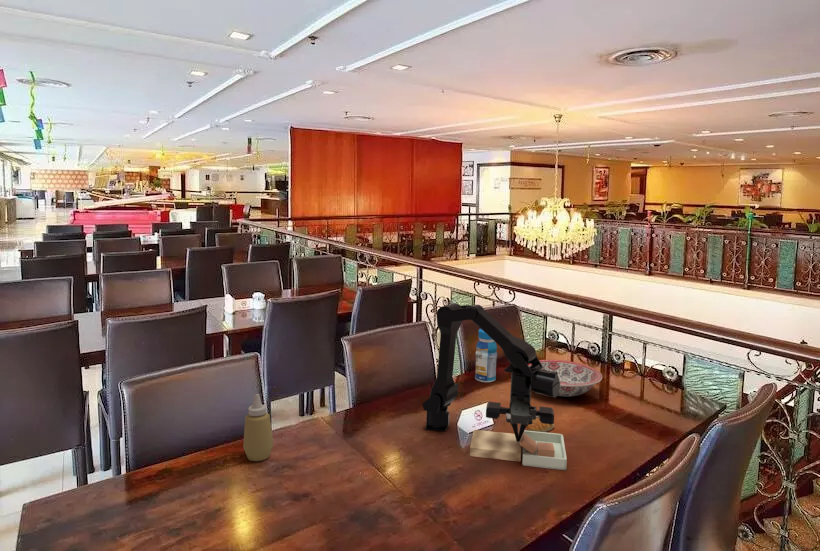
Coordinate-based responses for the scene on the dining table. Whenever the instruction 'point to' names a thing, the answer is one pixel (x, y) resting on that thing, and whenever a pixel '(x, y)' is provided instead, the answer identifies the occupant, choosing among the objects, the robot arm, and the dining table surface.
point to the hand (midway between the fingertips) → (518, 441)
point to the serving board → (495, 445)
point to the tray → (542, 461)
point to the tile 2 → (545, 449)
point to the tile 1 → (528, 443)
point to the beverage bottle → (485, 358)
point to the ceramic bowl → (572, 376)
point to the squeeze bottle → (257, 432)
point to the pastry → (539, 426)
